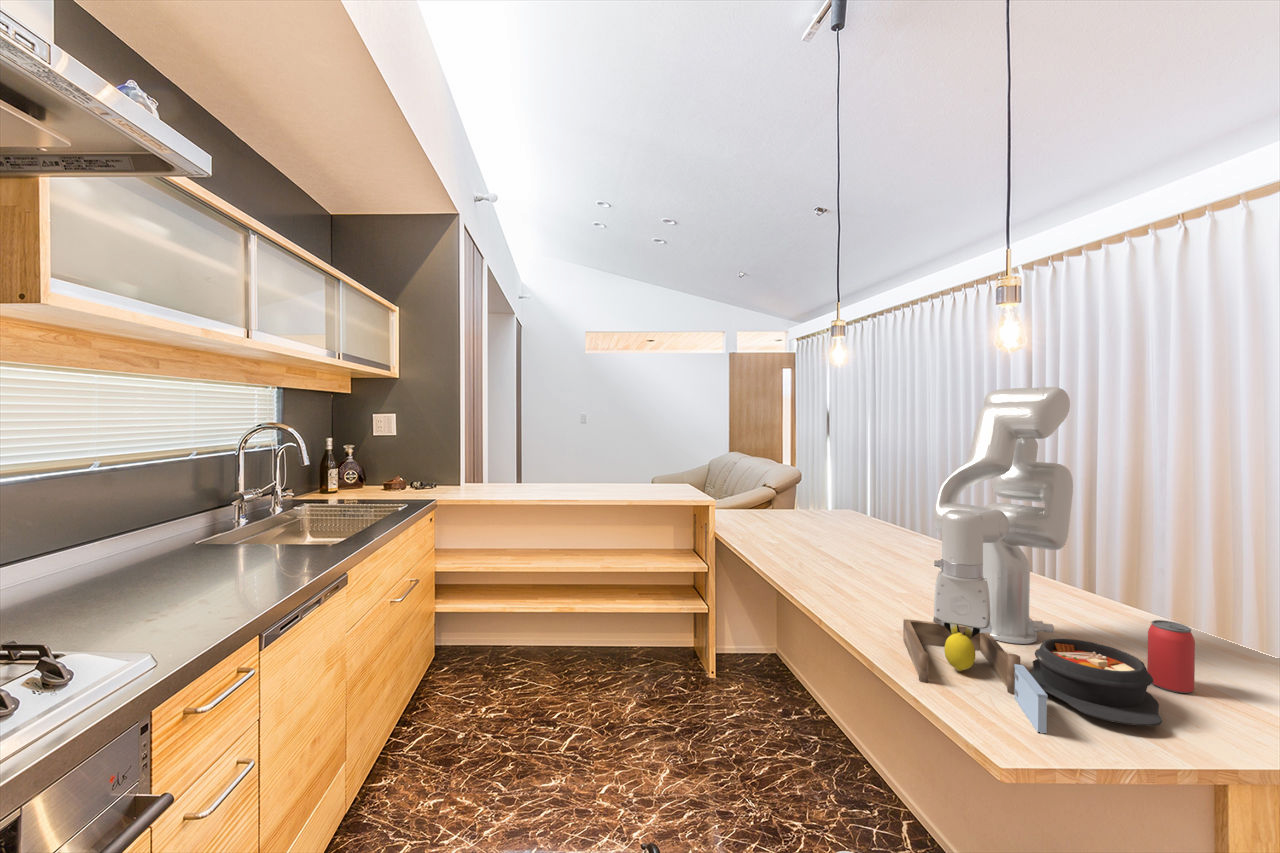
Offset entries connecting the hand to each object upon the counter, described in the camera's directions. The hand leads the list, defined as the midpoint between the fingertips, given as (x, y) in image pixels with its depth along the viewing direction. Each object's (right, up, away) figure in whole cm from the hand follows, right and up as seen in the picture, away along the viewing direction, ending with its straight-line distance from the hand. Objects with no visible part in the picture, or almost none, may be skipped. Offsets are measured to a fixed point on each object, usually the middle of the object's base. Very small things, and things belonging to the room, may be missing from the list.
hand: (961, 654), depth 116 cm
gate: (0, -2, -20) cm, 20 cm away
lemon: (-3, -2, -3) cm, 5 cm away
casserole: (+16, -3, -14) cm, 21 cm away
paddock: (-2, -2, 0) cm, 3 cm away
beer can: (+35, -2, -10) cm, 36 cm away
